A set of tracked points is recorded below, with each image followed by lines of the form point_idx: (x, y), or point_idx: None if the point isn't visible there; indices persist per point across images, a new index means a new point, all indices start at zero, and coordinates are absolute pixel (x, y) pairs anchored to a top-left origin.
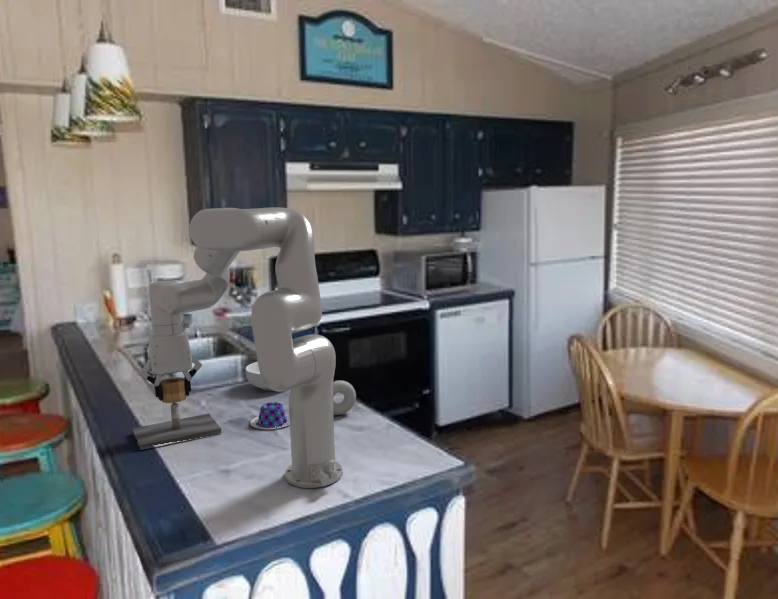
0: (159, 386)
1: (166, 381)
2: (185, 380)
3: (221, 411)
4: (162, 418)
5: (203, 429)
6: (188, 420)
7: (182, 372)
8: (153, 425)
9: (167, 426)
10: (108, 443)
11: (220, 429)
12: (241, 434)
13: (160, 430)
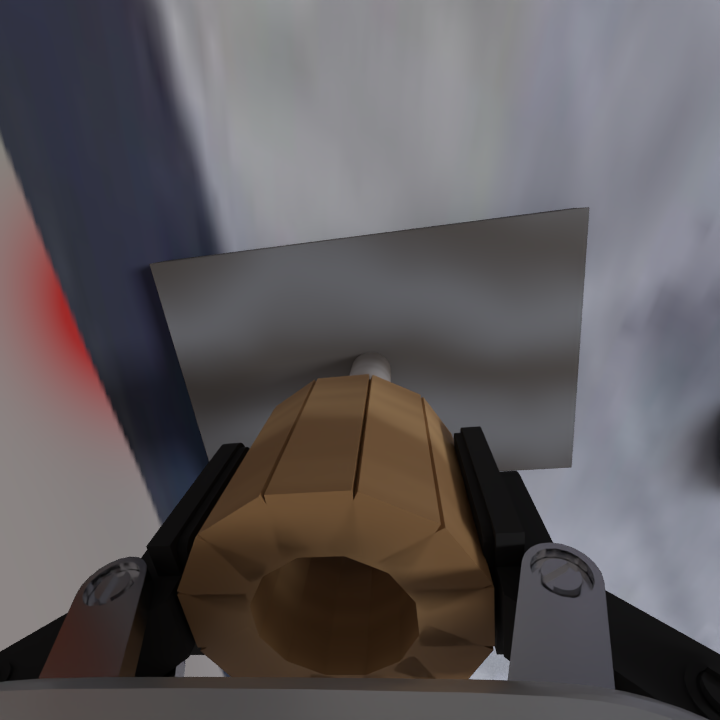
0: (197, 652)
1: (262, 572)
2: (497, 630)
3: (694, 91)
4: (307, 54)
5: (490, 443)
6: (445, 280)
7: (511, 652)
8: (256, 272)
9: (328, 322)
10: (81, 334)
11: (565, 463)
12: (634, 494)
13: (293, 363)
